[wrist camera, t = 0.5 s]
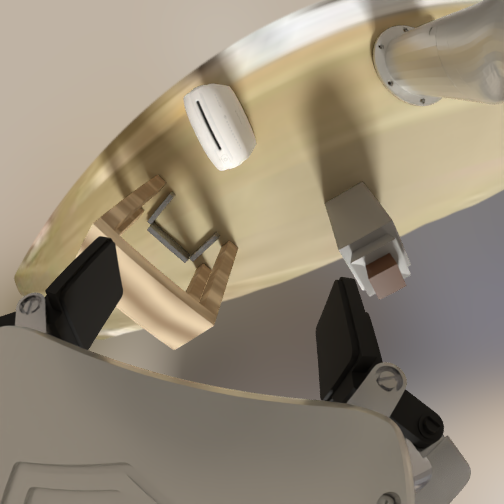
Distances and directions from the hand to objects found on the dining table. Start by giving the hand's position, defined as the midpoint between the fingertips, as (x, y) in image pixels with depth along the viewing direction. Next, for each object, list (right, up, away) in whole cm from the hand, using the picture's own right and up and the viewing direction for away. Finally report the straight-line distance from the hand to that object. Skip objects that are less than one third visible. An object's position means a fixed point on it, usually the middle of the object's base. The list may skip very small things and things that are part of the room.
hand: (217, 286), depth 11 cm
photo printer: (-1, +20, +24) cm, 31 cm away
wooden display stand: (-10, +5, +34) cm, 36 cm away
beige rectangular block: (+17, +8, +29) cm, 34 cm away
